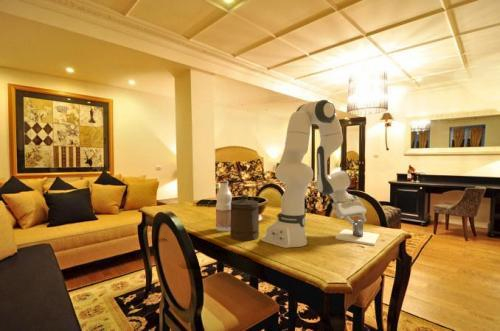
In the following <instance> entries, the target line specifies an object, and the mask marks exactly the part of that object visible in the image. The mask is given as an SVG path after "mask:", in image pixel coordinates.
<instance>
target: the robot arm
mask: <svg viewBox="0 0 500 331" xmlns="http://www.w3.org/2000/svg"><path fill="white" fill-rule="evenodd" d="M312 125H317V126H318V130H319V138H320V141H319V145H318V147H317V149H316V175H317V176H316V189H317V191H318V193H320V194H322V195H324V196H330V197H331V199H332V200H333V202H332V203H331V206H332V210H333V211H334V212H333V213H334V214H335V215H336V217H337V218H338V219H340V220H341V219H344V220H345V221H346V222H348V223H349V224H350V225H352V226H353V224H354V223H355V222H354V221H353V219H352V217H353V218H354V217H359V218H360V220H363V223H366V222H367V221H368V220H367V219H366V216H365V214H366V213H367V208H366V207H365V205H364V204H363V203H362V201H360V200H359V199H360V198H359V197H358V196H357V195H353V194H350V193H348V191H347V189H348V188H350V186H351V183H352V178H351V176H350V174H349V173H348V172H347V171H346V170H339V171H336V172H333V173H330V174H328V160H329V158H330V156H331V155H333V153H335V152H336V151H337V150H338V149H340V147H341V146H342V144H343V142H344V137H343V131H342V126H341V123H340V120H339V117H338V115H337V113H336V108H335V105H334V103H333V102H332V101H330V100H328V99H321V100H316V101H310V102H307V103H305V104H302V105H300V106H299V107H298V108H297V109H296V111H294V112H293V113H292V114H291V116H290V117H289V120H288V125H287V130H286V136H285V144H284V149H283V153H282V156H281V158H280V161H279V163H278V165H277V167H275V171H274V172H275V173H274V174H275V177H276V179H277V180H278V181H280V182H281V183H282V184H285V188H284V192H283V194H282V196H281V198H280V200H281V201H280V204H281V205H280V206H281V208H280V212H279V213H278V214H276V218H277V220H276V221H274V222H272V224H270V225H269V226H268V227H267V229H266V232H265V235H263V236H262V237H261V239H260V240H261V242H264V243H267V244H271V245H274V246H277V247H280V248H283V249H285V248H286V249H288V248H300V247H301V248H302V247H304V246H306V245H308V240H307V236H306V227H305V226H306V215H305V214H304V209H305V198H306V193H307V190H308V187H309V185H310V183H312V182H313V179H314V170H313V168H312V167H311V166H309V165H308V164H306V163H304V162H302V161H303V159H304V157H305V155H306V154H307V153H308V149H309V145H310V144H309V143H310V142H309V141H310V135H311V128H312V127H311V126H312Z"/></svg>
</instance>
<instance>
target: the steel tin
mask: <svg viewBox="0 0 500 331" xmlns="http://www.w3.org/2000/svg"><path fill="white" fill-rule="evenodd" d="M352 220H353V221H354V222H355V223H354V224H352V230H353V236H355V237H363V232H364V222H363V220H361V218H360V219H358V218H354V219H352Z"/></svg>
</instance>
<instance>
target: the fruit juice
mask: <svg viewBox="0 0 500 331" xmlns="http://www.w3.org/2000/svg"><path fill="white" fill-rule="evenodd" d="M229 183H230V182H229V181H228V180H220V181H219V184H220V185H219V189H218V191H217V193H216V195H215V198H216V204H215V230H216V231H217V232H229V231H230V218H231V202H232V201H233V200H232V198H233V194H232V192H231V190H230V187H229Z"/></svg>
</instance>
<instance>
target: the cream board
mask: <svg viewBox="0 0 500 331" xmlns="http://www.w3.org/2000/svg"><path fill="white" fill-rule="evenodd" d="M334 237H335V238H334V239H335V240H337V241H338V240H339V241H344V242H351V243H356V244H363V245H368V246H376V244H377V241H378V240H379V237H380V234H379V233H374V232H373V233H372V232H366V231H363V237H355V236H353V229H346V228H344V229H342V230H341V231H340V232H339V233H338V234H337V235H336V236H334Z"/></svg>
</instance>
